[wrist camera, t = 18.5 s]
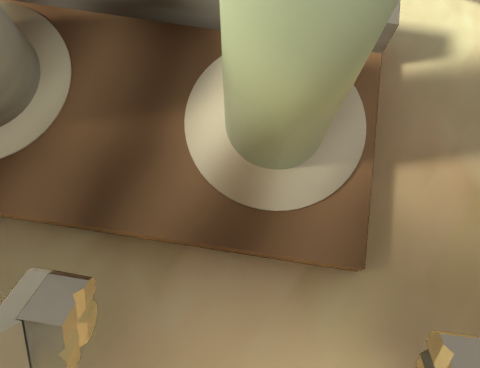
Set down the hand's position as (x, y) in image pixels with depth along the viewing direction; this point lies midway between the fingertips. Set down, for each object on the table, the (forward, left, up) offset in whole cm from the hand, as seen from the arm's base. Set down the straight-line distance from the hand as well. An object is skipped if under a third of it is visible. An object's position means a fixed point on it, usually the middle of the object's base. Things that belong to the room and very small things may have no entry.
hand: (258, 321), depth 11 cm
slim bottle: (0, +9, -9) cm, 13 cm away
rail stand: (-7, +9, -11) cm, 16 cm away
